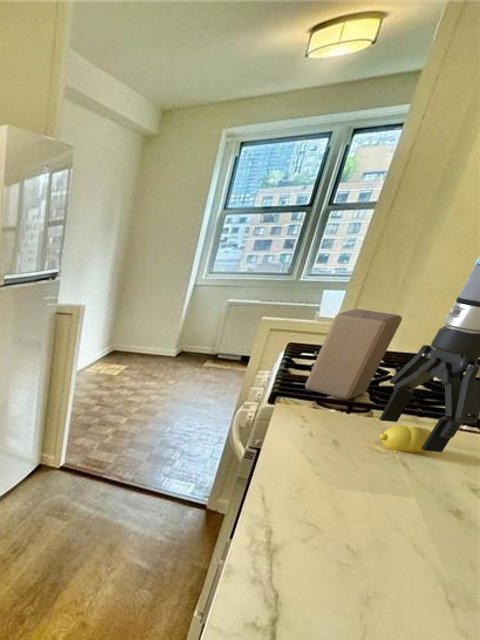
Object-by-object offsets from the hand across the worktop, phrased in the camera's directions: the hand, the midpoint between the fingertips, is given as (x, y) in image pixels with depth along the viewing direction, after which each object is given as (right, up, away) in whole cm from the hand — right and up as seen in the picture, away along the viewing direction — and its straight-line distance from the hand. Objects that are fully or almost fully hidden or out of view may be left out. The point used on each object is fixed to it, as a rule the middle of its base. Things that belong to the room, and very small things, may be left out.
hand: (408, 434), depth 96 cm
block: (+13, +12, +30) cm, 34 cm away
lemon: (0, -3, +2) cm, 4 cm away
